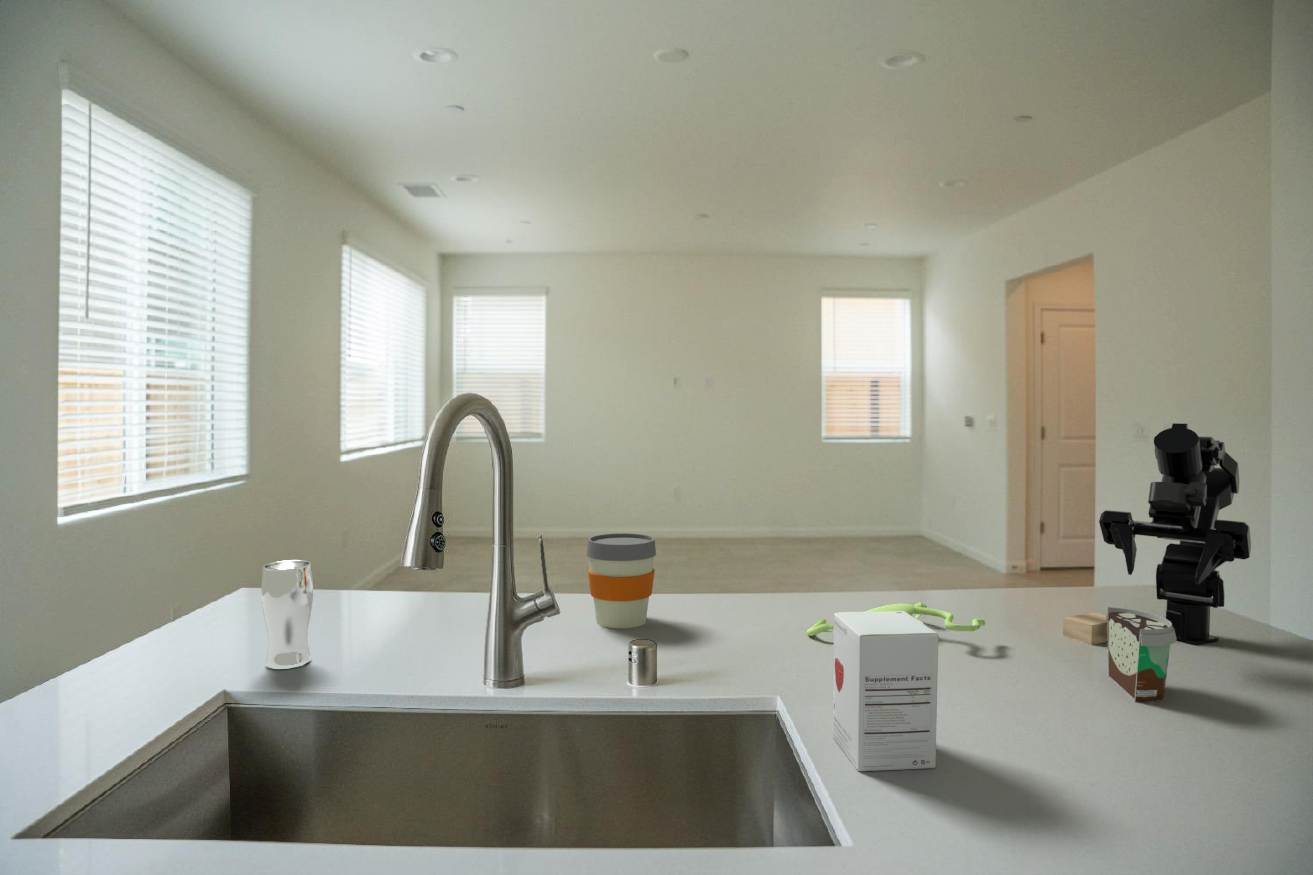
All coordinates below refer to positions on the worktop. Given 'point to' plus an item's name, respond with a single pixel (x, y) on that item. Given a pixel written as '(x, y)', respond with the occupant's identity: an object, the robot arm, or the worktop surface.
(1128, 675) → the food container
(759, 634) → the worktop surface
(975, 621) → the figurine
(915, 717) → the supplement box
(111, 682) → the worktop surface
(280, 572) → the beer glass
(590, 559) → the reusable coffee cup
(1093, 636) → the oak block
